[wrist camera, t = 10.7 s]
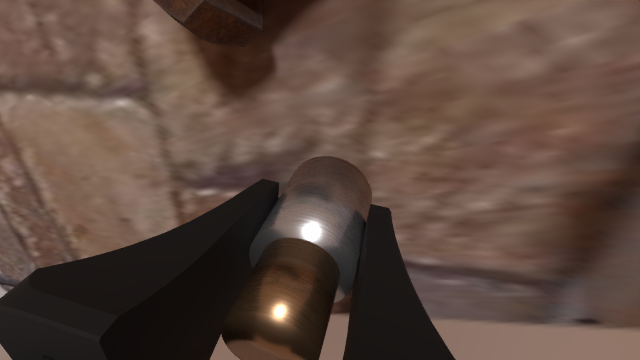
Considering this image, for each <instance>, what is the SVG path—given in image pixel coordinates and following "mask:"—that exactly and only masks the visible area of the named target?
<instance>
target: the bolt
mask: <svg viewBox="0 0 640 360" xmlns="http://www.w3.org/2000/svg"><path fill="white" fill-rule="evenodd" d="M153 1H154V2H155V3H157V4H158V5H159V6H160V7H161V8H162V9H163V10H164V11H166V12H167V13H168V14H169V15H170V16H171V17H172V18H173V19H175V20H176V21H177V22H178V23H180V24H181V25H182V26H184V27H185V28H187V29H188V30H189V31H191V32H192V33H193V34H195V35H196V36H198V37H199V38H200V39H202V40H205V41H207V42H209V43H213V44H216V45H222V46H228V47H244V46H245V45H246V44H247V43H248V42H249V41H251V40H252V39H253V38H254V37H255V36H256V35H258V34H259V33H260V32H261V31H262V30H263V0H153Z"/></svg>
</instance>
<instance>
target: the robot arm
mask: <svg viewBox="0 0 640 360" xmlns="http://www.w3.org/2000/svg"><path fill="white" fill-rule="evenodd" d="M278 193H279V183H278V182H274V181H270V180H265V179H262V180H260V181H258V182H257V183H255V184H253V185H252V186H250V187H249V188H247V189H245V190H244V191H242V192H241V193H239V194H237V195H236V196H234V197H233V198H231V199H229V200H228V201H226V202H224V203H223V204H221V205H219V206H218V207H216V208H214V209H212V210H210V211H209V212H207V213H205V214H203V215H201V216H199V217H197V218H196V219H194V220H192V221H190V222H188V223H185V224H183V225H181V226H179V227H177V228H174V229H172V230H170V231H168V232H165V233H163V234H160V235H158V236H155V237H152V238H149V239H147V240H144V241H141V242H138V243H136V244H133V245H130V246H127V247H124V248H121V249H117V250H114V251H111V252H107V253H104V254H100V255H96V256H93V257H89V258H85V259H81V260H76V261H72V262H67V263H63V264H58V265H53V266H49V267H44V268H39V269H36V270H35V271H34V272H33V273H31V274H30V275H29V276H27V277H26V278H25V279H24V280H23V281H21V282H20V283H19V284H18V285H16V286H15V287H14V288H13V289H11V290H10V291H9V292H8V293H6V294H5V295H4V296H3V297H1V298H0V344H1V345H2V347H3V348H4V349H5V350H6V352H7V353H8V354H9V356H10V357H11V358H12V360H210V357H211V355H212V353H213V350H214V348H215V346H216V344H217V342H218V339H219V337H220V335H221V328H222V325H223V323H224V321H225V319H226V318H227V316H228V314H229V312H230V310H231V308H232V307H233V305H234V303H235V301H236V299H237V298H238V296H239V294H240V292H241V290H242V288H243V287H244V285H245V283H246V281H247V279H248V278H249V276H250V274H251V272H252V270H253V269H252V266H251V263H250V259H249V250H250V246H251V244H252V242H253V240H254V238H255V237H256V235H257V233H258V232H259V230H260V228H261V227H262V225H263V224H264V222H265V220H266V219H267V217H268V215H269V214H270V212H271V210H272V209H273V207H274V205H275V204H276V202H277V200H278ZM343 360H456V359H455V358H454V357H453V355H452V354H451V352H450V351H449V349H448V348H447V346H446V344H445V343H444V341H443V340H442V338H441V336H440V335H439V333H438V332H437V330H436V328H435V327H434V325H433V324H432V322H431V320H430V318H429V316H428V315H427V313H426V311H425V309H424V307H423V305H422V303H421V301H420V299H419V297H418V295H417V293H416V291H415V289H414V287H413V285H412V282H411V280H410V278H409V275H408V273H407V270H406V268H405V265H404V262H403V259H402V256H401V253H400V250H399V247H398V244H397V240H396V237H395V233H394V228H393V224H392V217H391V211H390V209H389V208H386V207H381V206H377V205H373V204H370V208H369V213H368V217H367V221H366V226H365V230H364V235H363V239H362V244H361V250H360V256H359V260H358V265H357V269H356V274H355V279H354V283H353V291H352V299H351V308H350V316H349V325H348V333H347V340H346V346H345V351H344V356H343Z"/></svg>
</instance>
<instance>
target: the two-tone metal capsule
mask: <svg viewBox="0 0 640 360" xmlns="http://www.w3.org/2000/svg"><path fill="white" fill-rule="evenodd" d="M371 201H372V191H371V187H370V184H369V182H368V180H367V178H366V177H365V175H364V174H363V173H362V172H361V171H360V170H359V169H358V168H357V167H356V166H354V165H353V164H351V163H349V162H347V161H345V160H343V159H340V158H336V157H329V156H322V157H315V158H312V159H309V160H307V161H305V162H304V163H302V164H301V165H300V166H299V167H298V168H297V169H296V171H295V172H294V174H293V176H292V177H291V179H290V181H289V182H288V184H287V186H286V187H285V189H284V191H283V192H282V194H281V196H280V197H279V199H278V200H277V202H276V204H275V205H274V207H273V209H272V210H271V212H270V214H269V215H268V217H267V219H266V220H265V222H264V224H263V225H262V227H261V228H260V230H259V232H258V233H257V235H256V237H255V238H254V240H253V242H252V244H251V246H250V250H249V259H250V263H251V266H252V269H253V270H252V272H251V274H250V276H249V278H248V279H247V281H246V283H245V285H244V287H243V288H242V290H241V292H240V294H239V296H238V298H237V299H236V301H235V303H234V305H233V307H232V308H231V310H230V312H229V314H228V316H227V318H226V319H225V321H224V323H223V325H222V328H221V334H222V338H223V340H224V342H225V344H226V345H227V347H228V348H229V349H230V350H231V352H232V353H234V355H235V356H237V357H238V358H239V359H241V360H319V357H320V353H321V349H322V345H323V341H324V338H325V334H326V330H327V326H328V322H329V318H330V315H331V311H332V308H333V304H334V303H335V302H338V301H340V300H341V299H343V298H344V297H346V295H347V294H348V293H349V292H350V290H351V289H352V286H353V283H354V279H355V274H356V269H357V265H358V260H359V256H360V250H361V244H362V239H363V235H364V230H365V226H366V221H367V217H368V213H369V208H370V204H371Z"/></svg>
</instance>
